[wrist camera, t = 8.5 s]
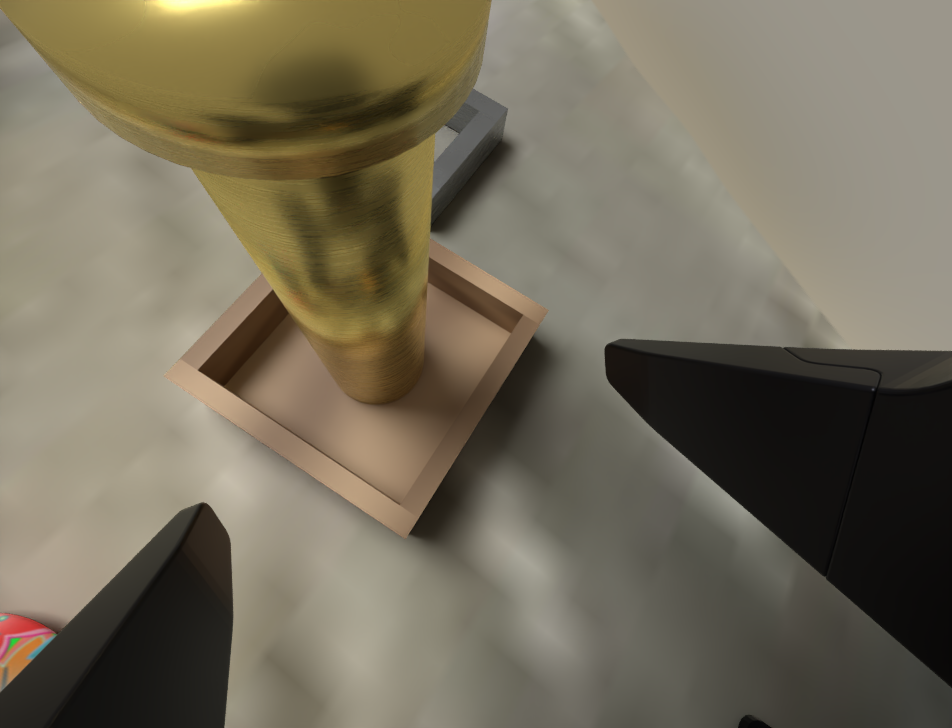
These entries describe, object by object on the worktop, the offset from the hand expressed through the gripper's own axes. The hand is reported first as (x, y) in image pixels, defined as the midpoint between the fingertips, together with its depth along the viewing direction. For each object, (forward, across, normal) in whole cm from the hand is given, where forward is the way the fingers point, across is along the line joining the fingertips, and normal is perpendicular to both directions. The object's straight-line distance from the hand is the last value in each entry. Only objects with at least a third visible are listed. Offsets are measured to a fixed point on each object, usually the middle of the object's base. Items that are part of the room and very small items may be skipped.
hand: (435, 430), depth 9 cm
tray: (+10, 0, +2) cm, 11 cm away
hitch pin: (+10, 0, +2) cm, 10 cm away
